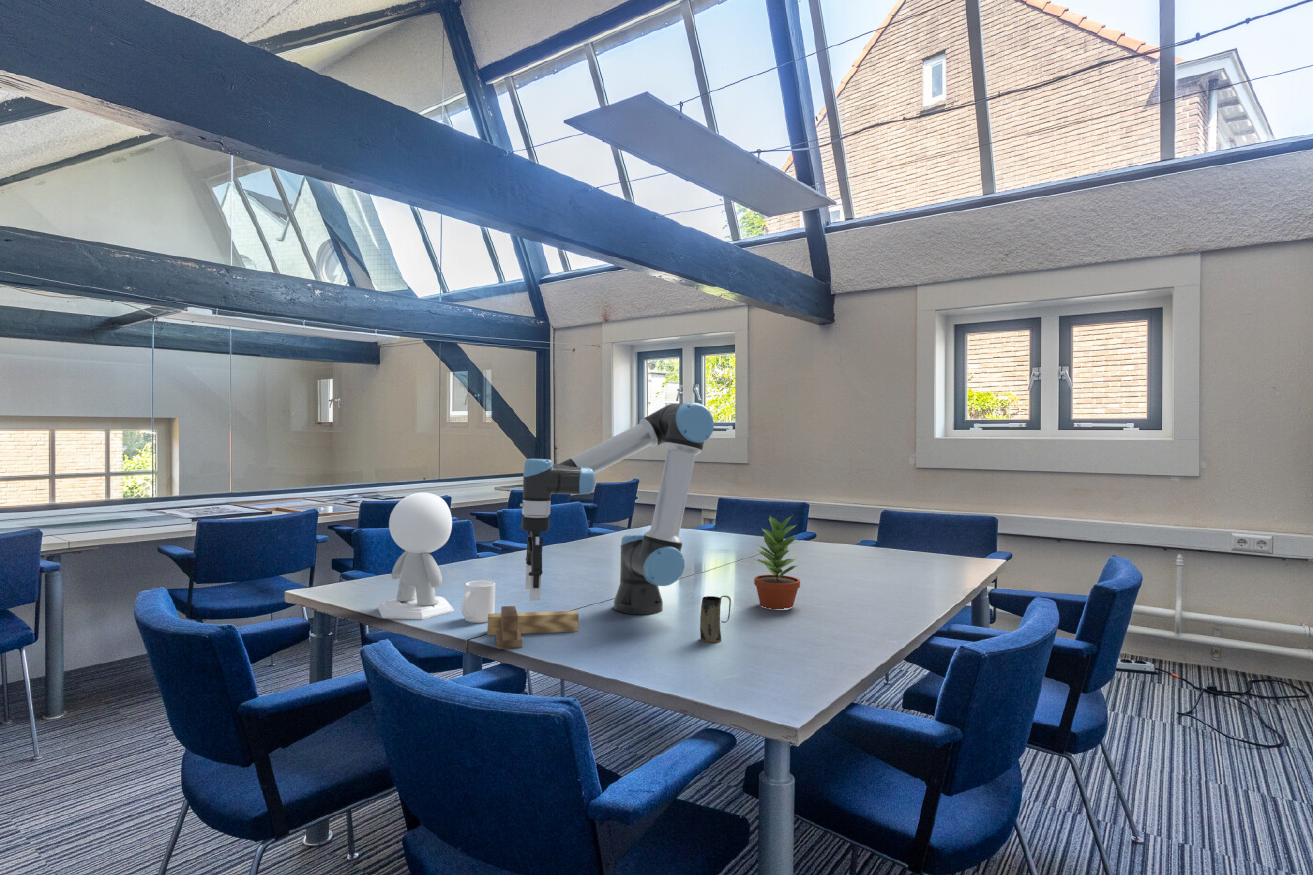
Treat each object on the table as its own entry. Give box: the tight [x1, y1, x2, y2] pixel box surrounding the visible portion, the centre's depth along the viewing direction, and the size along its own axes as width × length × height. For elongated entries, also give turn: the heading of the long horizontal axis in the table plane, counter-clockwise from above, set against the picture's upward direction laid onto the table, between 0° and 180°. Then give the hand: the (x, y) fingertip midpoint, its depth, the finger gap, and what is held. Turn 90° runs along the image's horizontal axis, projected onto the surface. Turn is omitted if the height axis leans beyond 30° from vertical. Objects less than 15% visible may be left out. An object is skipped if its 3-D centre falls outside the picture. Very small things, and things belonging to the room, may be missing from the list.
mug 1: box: [460, 580, 496, 624], centre depth 196 cm, size 12×8×10 cm
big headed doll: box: [377, 492, 455, 621], centre depth 206 cm, size 20×23×35 cm
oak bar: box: [487, 610, 579, 636], centre depth 187 cm, size 24×4×5 cm, turn 104°
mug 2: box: [699, 595, 732, 644], centre depth 183 cm, size 8×6×12 cm
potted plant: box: [753, 515, 801, 609], centre depth 221 cm, size 15×15×30 cm
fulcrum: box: [495, 605, 523, 650], centre depth 177 cm, size 6×10×8 cm, turn 15°
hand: (532, 594), depth 187 cm, fingers open, 13 cm apart
